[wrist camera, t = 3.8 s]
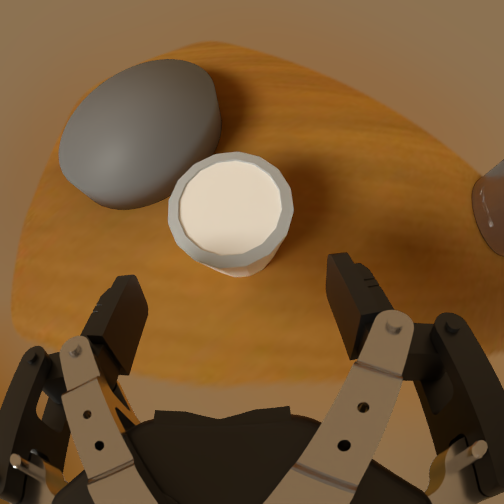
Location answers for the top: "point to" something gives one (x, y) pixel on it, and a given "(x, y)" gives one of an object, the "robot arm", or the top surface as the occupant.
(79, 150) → the stand
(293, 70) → the top surface
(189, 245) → the white cup
